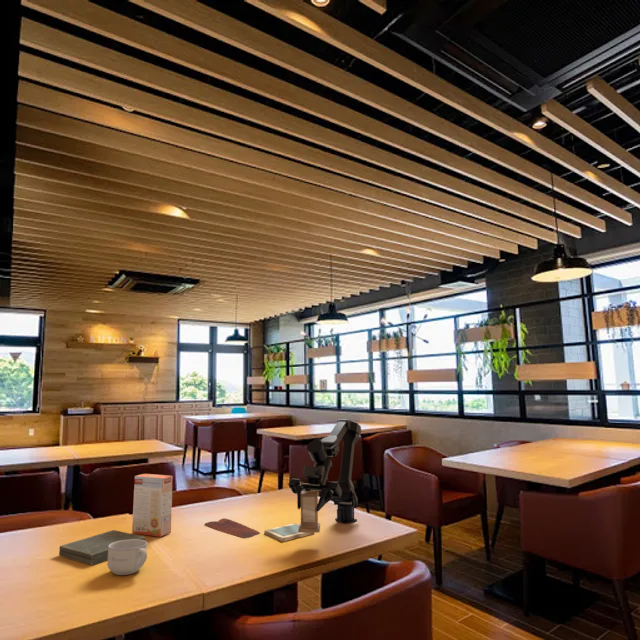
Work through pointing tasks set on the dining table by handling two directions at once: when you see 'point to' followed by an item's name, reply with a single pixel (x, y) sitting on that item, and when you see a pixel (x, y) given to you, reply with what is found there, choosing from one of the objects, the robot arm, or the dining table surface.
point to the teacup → (126, 556)
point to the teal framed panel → (285, 532)
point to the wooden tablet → (232, 528)
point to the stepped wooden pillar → (309, 512)
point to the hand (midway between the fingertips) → (307, 509)
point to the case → (94, 547)
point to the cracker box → (152, 505)
